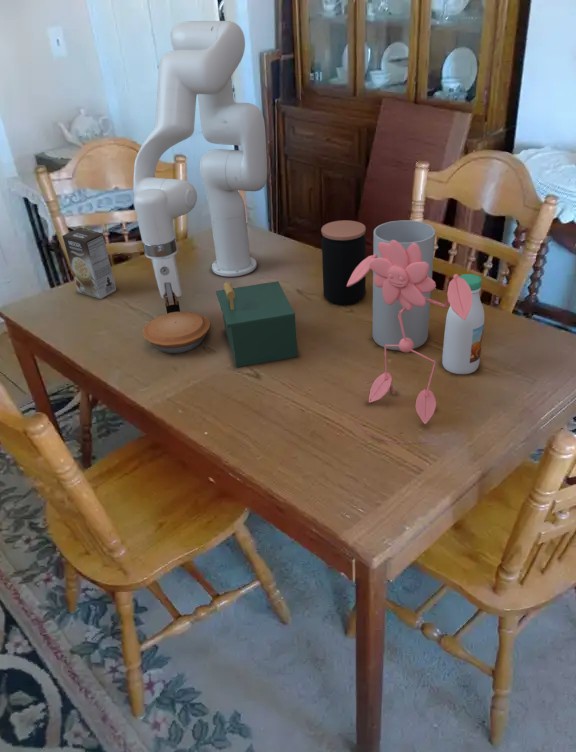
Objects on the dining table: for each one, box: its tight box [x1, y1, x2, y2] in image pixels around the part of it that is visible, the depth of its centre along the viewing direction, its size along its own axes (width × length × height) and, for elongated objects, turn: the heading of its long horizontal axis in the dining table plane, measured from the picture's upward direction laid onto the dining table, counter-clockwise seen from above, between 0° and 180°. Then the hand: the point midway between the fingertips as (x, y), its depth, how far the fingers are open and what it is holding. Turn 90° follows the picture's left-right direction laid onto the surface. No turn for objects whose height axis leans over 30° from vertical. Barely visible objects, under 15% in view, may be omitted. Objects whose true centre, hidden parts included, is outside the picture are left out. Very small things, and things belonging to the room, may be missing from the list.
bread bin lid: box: [215, 280, 296, 328], centre depth 144 cm, size 15×17×5 cm
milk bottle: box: [441, 273, 486, 375], centre depth 134 cm, size 8×8×20 cm
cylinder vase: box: [371, 219, 436, 352], centre depth 143 cm, size 12×12×25 cm
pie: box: [142, 310, 211, 354], centre depth 153 cm, size 16×16×5 cm
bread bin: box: [222, 314, 299, 368], centre depth 148 cm, size 14×17×10 cm
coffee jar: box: [320, 219, 367, 307], centre depth 162 cm, size 11×11×18 cm
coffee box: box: [61, 227, 117, 300], centre depth 173 cm, size 9×6×16 cm
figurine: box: [347, 240, 472, 446], centre depth 116 cm, size 15×26×35 cm, turn 48°
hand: (174, 317), depth 161 cm, fingers closed
